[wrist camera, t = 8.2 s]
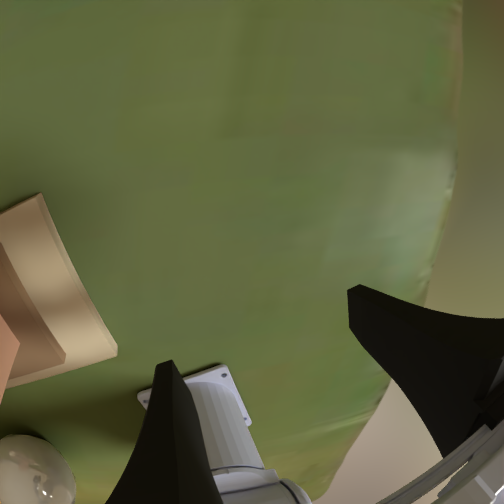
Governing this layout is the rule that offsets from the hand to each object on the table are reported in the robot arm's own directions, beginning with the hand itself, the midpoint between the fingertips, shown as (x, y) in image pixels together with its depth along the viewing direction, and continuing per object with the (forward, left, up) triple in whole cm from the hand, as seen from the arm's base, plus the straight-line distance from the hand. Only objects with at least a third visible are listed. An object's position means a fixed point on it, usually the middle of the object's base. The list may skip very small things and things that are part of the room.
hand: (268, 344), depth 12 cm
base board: (+1, +17, -10) cm, 20 cm away
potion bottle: (-13, +27, -10) cm, 32 cm away
